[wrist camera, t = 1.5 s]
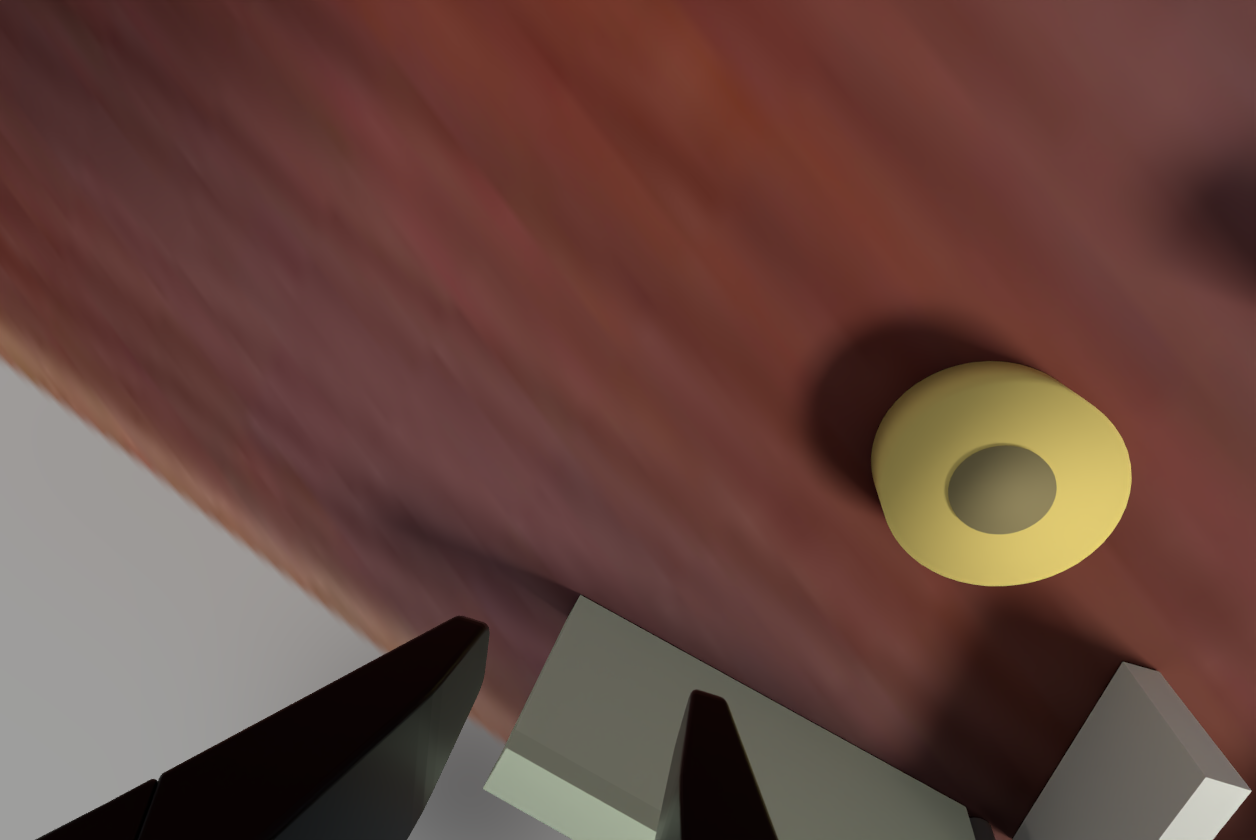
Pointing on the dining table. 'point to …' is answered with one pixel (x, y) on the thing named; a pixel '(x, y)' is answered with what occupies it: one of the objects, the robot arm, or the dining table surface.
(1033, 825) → the white open pen
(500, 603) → the dining table surface
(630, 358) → the dining table surface
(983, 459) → the cord coil
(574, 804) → the cover
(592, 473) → the dining table surface
